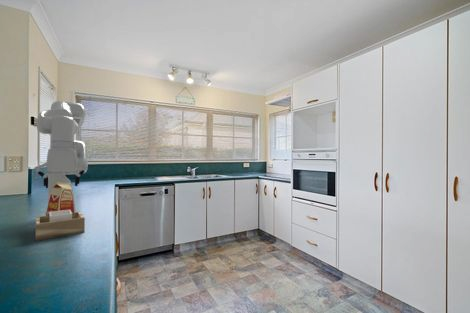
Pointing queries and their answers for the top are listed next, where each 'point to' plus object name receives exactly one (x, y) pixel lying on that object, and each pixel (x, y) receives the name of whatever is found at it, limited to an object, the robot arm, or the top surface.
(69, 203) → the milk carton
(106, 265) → the top surface
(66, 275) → the top surface
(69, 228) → the pine crate
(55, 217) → the cream crate
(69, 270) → the top surface
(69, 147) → the robot arm
